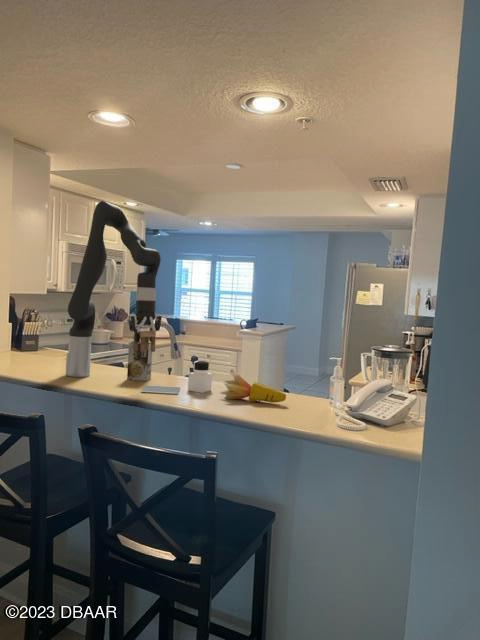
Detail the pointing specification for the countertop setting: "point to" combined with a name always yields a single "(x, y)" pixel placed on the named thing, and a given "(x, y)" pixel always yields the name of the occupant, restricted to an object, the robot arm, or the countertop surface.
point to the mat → (160, 389)
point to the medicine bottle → (200, 378)
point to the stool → (146, 340)
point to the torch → (251, 391)
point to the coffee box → (139, 363)
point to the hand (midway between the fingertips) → (144, 341)
